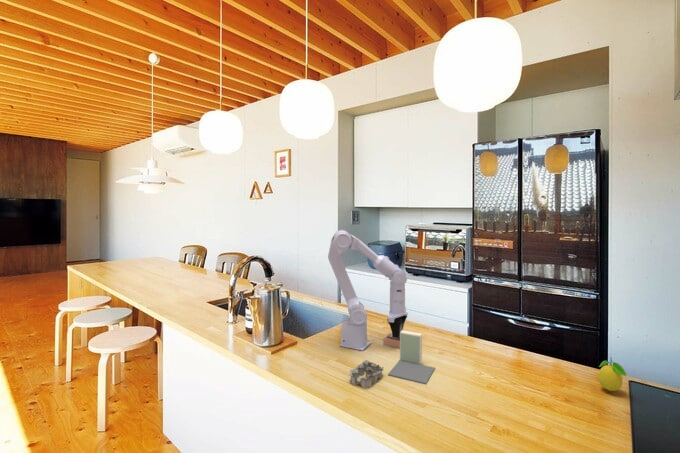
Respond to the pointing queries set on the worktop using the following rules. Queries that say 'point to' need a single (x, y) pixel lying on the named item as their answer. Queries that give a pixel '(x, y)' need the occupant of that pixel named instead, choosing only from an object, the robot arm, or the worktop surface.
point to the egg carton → (371, 374)
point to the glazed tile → (411, 347)
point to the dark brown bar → (399, 333)
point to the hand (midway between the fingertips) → (397, 335)
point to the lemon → (611, 376)
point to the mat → (412, 372)
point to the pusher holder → (391, 341)
